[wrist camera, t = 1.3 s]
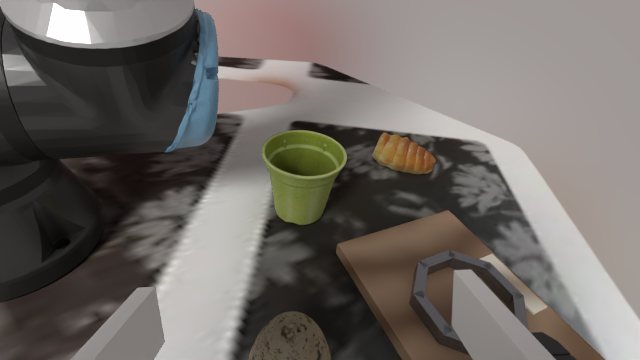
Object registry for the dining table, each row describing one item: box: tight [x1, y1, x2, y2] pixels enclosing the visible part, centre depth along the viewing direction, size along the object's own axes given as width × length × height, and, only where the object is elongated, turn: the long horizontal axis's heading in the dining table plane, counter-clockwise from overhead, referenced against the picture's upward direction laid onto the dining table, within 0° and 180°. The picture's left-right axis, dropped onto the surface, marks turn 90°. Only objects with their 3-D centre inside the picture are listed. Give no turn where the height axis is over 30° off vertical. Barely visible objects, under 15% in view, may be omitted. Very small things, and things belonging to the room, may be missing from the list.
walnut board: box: [336, 210, 605, 360], centre depth 33 cm, size 22×16×2 cm
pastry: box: [372, 133, 436, 174], centre depth 53 cm, size 9×7×4 cm
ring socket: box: [409, 250, 529, 355], centre depth 33 cm, size 10×10×2 cm
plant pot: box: [262, 130, 347, 225], centre depth 41 cm, size 9×9×9 cm
